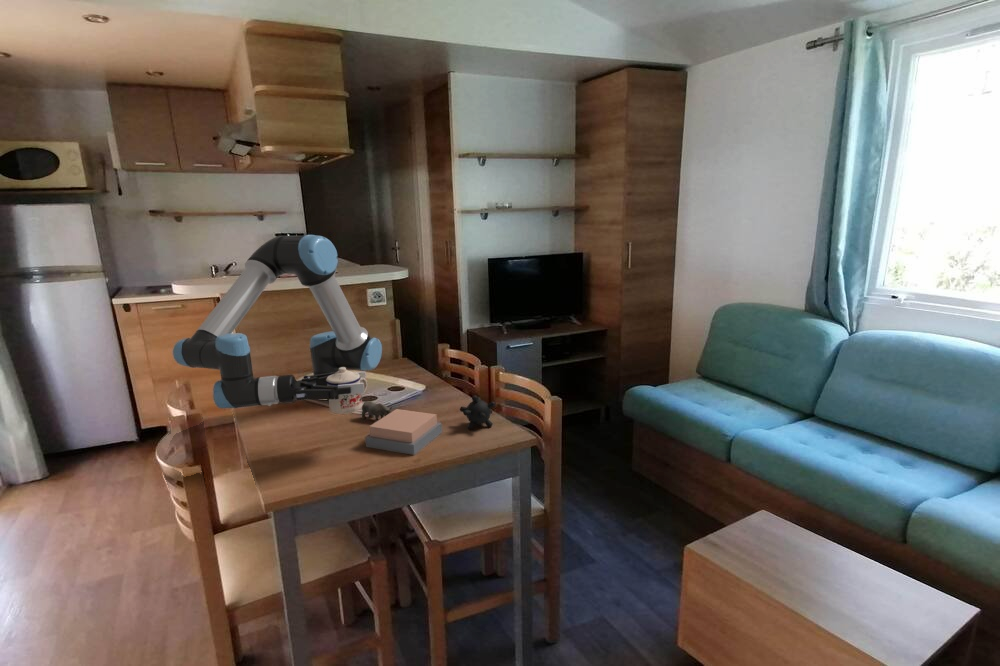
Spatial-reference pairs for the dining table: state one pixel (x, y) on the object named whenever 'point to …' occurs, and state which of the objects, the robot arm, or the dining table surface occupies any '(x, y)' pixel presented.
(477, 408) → the toy ball
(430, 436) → the brick plinth
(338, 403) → the teacup with lid
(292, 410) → the dining table surface
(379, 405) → the rhino figurine
